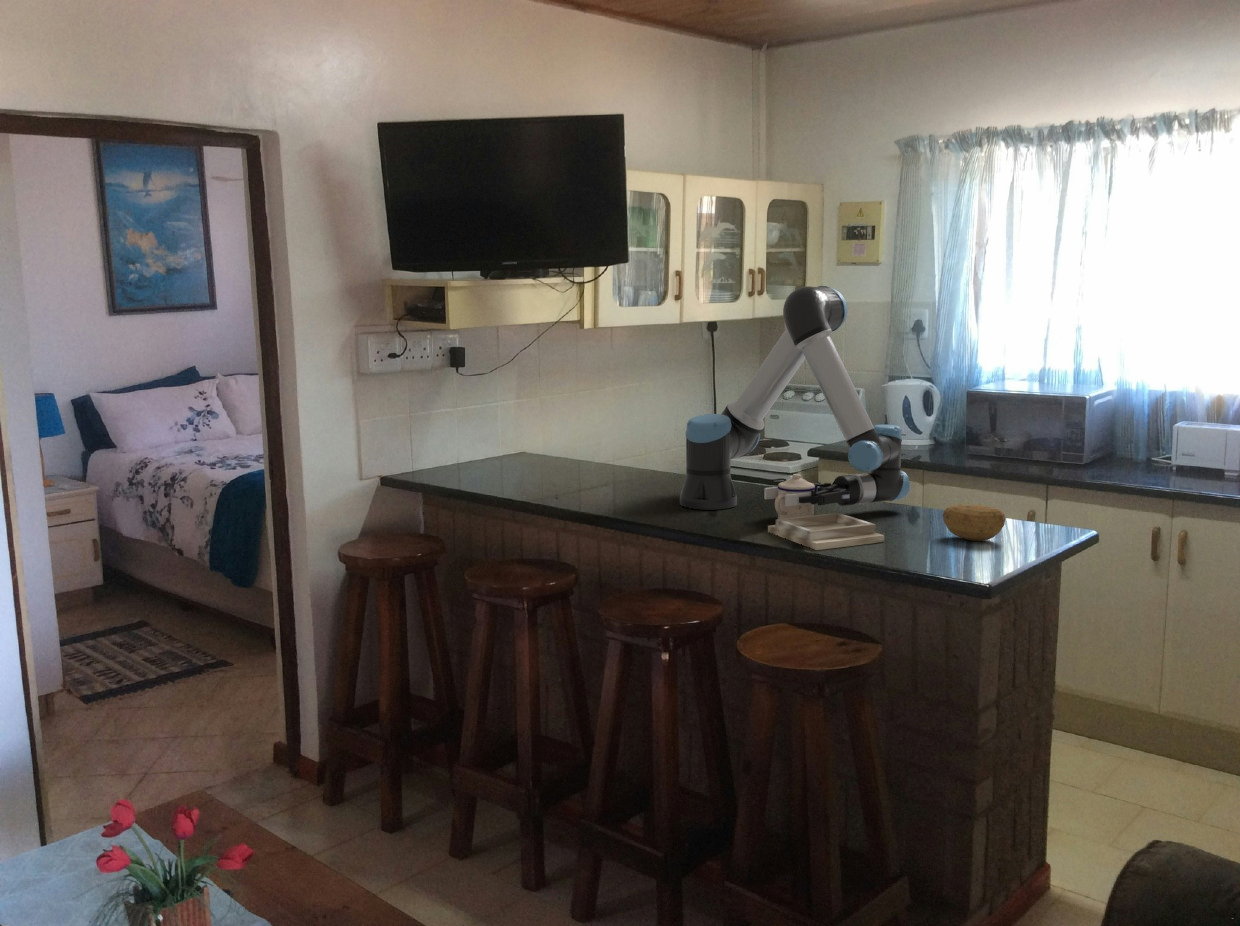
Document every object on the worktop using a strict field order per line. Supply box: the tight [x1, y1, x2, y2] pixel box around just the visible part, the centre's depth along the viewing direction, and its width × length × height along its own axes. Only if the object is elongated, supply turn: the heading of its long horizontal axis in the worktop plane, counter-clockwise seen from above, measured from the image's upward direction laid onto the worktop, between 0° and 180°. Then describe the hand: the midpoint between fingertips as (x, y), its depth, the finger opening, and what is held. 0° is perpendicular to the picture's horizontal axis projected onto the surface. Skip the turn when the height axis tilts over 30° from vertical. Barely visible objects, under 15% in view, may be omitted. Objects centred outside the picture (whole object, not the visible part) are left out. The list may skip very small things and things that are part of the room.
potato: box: [942, 503, 1006, 542], centre depth 243 cm, size 10×14×8 cm
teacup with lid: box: [774, 473, 815, 519], centre depth 263 cm, size 12×9×12 cm
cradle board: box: [767, 512, 885, 551], centre depth 248 cm, size 20×18×4 cm
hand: (775, 497), depth 262 cm, fingers closed on teacup with lid, 9 cm apart
